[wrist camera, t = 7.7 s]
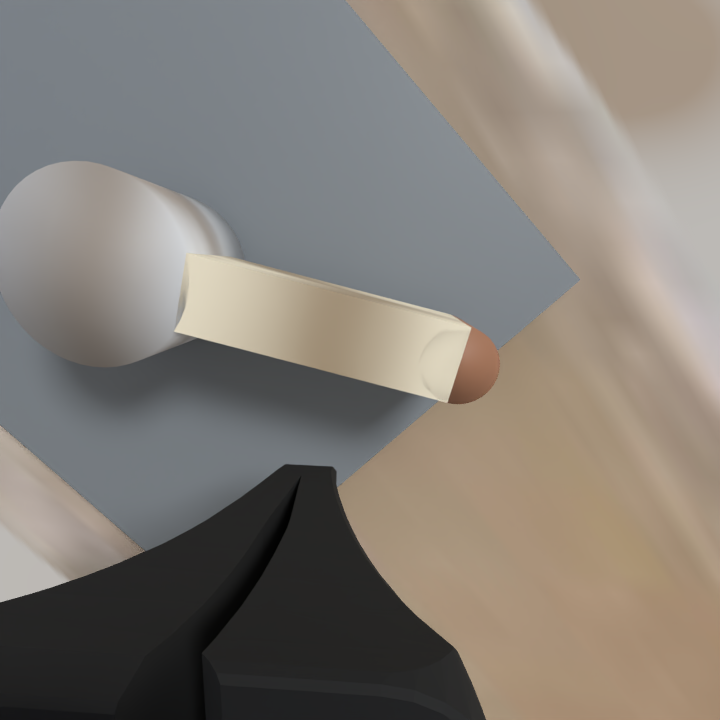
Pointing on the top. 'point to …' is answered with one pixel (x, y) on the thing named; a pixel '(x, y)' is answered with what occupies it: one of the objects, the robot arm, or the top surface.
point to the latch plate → (248, 235)
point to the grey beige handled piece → (204, 290)
